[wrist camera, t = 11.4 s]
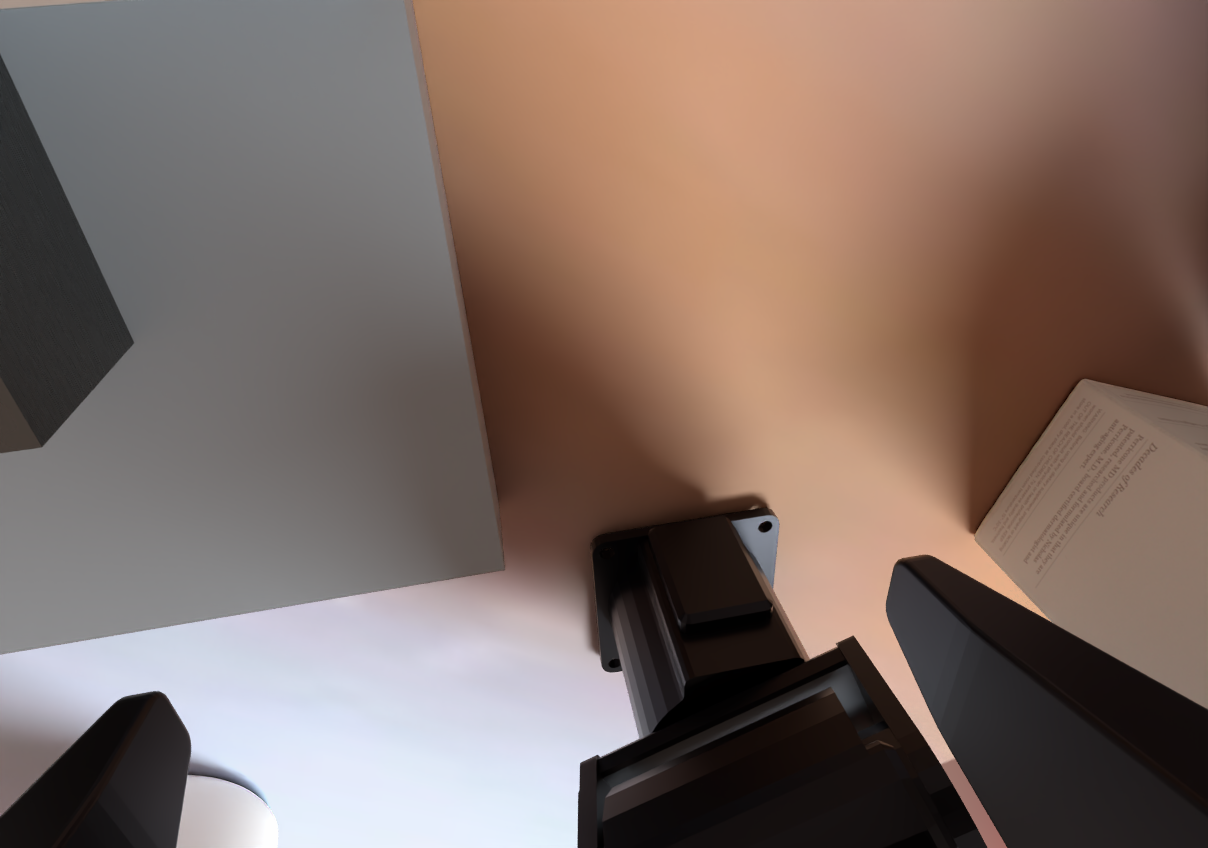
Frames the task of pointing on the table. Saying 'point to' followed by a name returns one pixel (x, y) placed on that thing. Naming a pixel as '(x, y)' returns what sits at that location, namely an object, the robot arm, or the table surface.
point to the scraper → (45, 284)
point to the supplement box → (1116, 530)
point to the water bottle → (224, 816)
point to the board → (247, 321)
